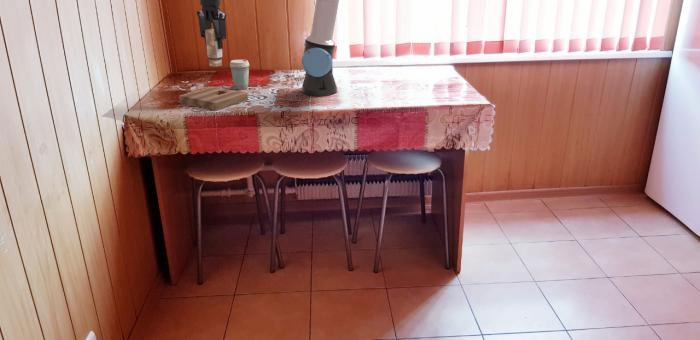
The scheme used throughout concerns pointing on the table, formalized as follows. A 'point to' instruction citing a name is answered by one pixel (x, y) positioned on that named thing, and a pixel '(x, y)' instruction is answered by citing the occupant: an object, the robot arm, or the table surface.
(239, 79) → the coffee cup
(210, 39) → the peg
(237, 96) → the board
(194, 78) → the table surface
